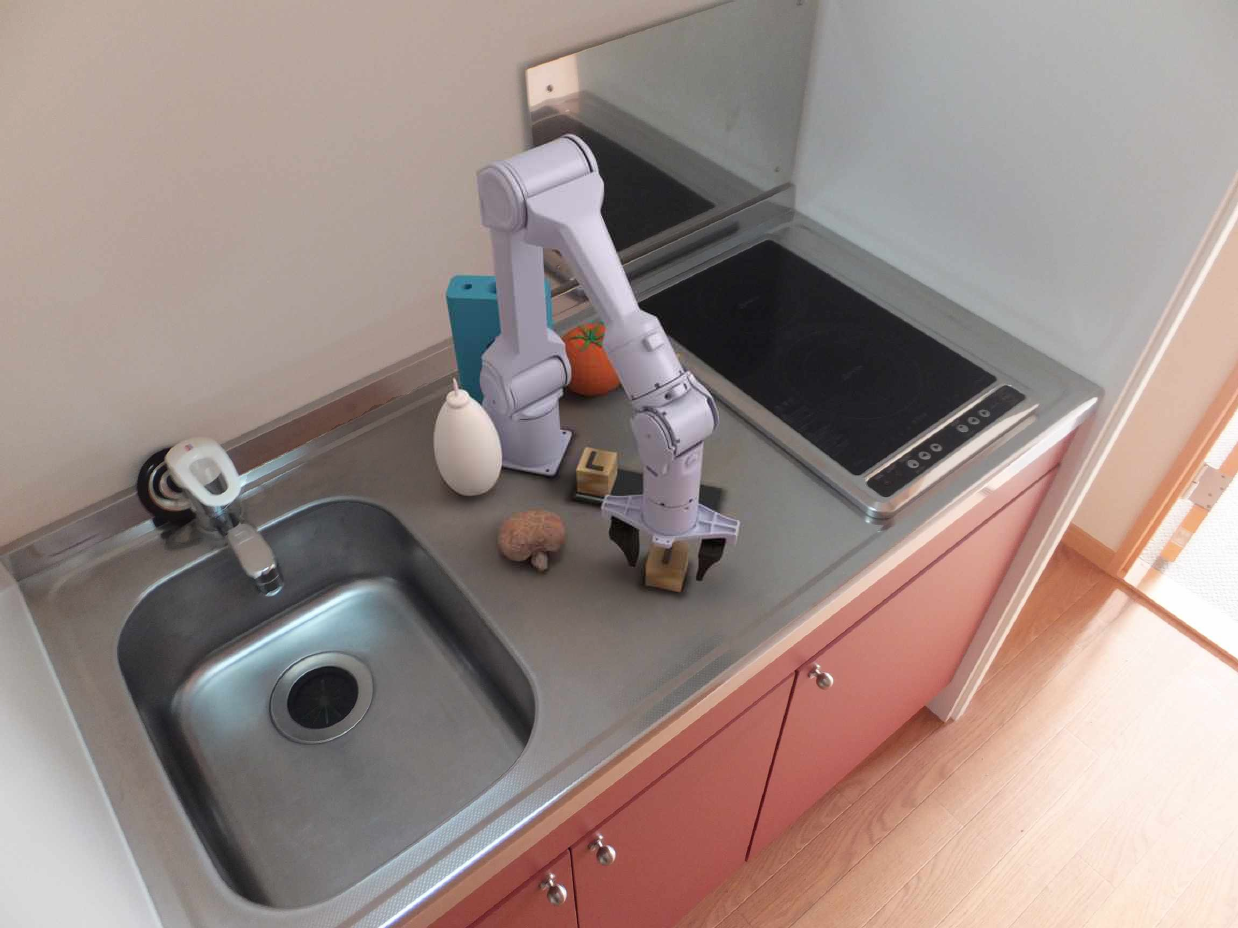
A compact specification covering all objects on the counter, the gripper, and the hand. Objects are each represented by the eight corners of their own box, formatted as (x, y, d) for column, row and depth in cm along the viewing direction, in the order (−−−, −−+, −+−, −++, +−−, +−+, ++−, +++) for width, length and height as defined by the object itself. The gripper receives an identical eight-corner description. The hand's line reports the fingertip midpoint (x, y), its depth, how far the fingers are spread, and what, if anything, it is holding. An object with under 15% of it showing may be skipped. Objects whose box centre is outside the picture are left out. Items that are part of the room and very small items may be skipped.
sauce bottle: (498, 458, 112) (481, 349, 99) (513, 502, 107) (496, 392, 94) (438, 473, 110) (412, 363, 97) (450, 518, 105) (424, 408, 92)
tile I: (645, 585, 98) (645, 562, 95) (653, 557, 101) (654, 535, 98) (680, 592, 98) (681, 570, 94) (687, 564, 100) (689, 542, 97)
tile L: (577, 491, 107) (575, 468, 104) (586, 469, 110) (585, 445, 107) (608, 498, 106) (608, 475, 103) (617, 474, 109) (617, 451, 106)
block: (559, 405, 119) (551, 278, 105) (555, 429, 115) (545, 301, 102) (472, 402, 120) (452, 274, 106) (465, 426, 116) (443, 297, 102)
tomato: (543, 398, 120) (537, 341, 113) (576, 355, 126) (572, 298, 119) (610, 419, 117) (609, 362, 110) (641, 373, 123) (641, 316, 116)
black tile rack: (572, 500, 107) (571, 497, 107) (585, 466, 111) (585, 462, 111) (711, 528, 104) (712, 524, 103) (721, 491, 108) (721, 488, 107)
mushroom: (581, 565, 100) (567, 503, 104) (555, 551, 95) (542, 487, 99) (524, 587, 102) (513, 526, 106) (497, 575, 97) (486, 511, 101)
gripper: (591, 501, 87) (595, 581, 97) (735, 529, 84) (724, 609, 94) (610, 452, 92) (612, 533, 101) (747, 477, 89) (735, 558, 99)
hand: (667, 567), depth 98 cm, fingers open, 7 cm apart
